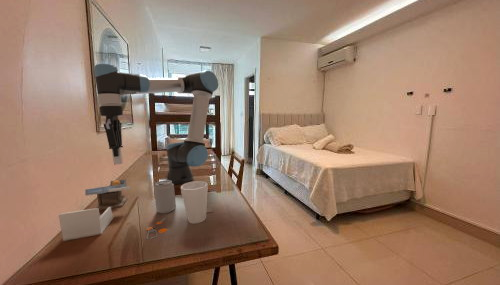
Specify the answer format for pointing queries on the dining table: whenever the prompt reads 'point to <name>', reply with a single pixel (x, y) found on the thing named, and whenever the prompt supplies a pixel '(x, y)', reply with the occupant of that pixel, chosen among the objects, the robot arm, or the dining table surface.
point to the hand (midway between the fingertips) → (118, 163)
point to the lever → (107, 188)
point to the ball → (115, 183)
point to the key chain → (156, 230)
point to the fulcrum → (110, 200)
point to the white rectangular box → (84, 223)
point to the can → (164, 196)
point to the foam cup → (195, 200)
